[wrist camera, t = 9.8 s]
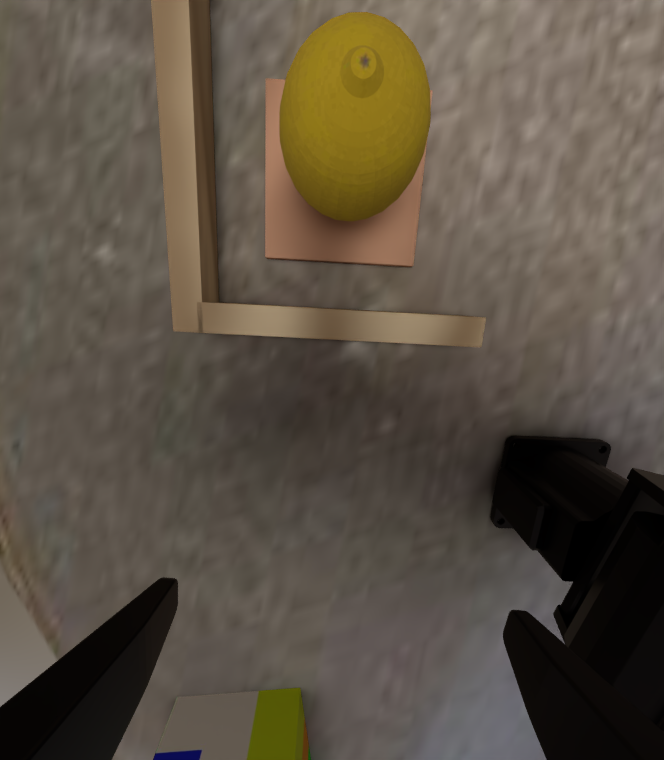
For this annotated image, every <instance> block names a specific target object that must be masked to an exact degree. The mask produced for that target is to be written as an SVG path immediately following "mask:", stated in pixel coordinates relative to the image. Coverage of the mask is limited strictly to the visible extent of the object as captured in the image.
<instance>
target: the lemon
mask: <svg viewBox="0 0 664 760" xmlns="http://www.w3.org/2000/svg"><path fill="white" fill-rule="evenodd" d="M430 116H431V112H430V88H429V83H428V79H427V75H426V70H425V66H424V63H423V61H422V59H421V57H420V55H419V53H418V51H417V49H416V47H415V45H414V44H413V42H412V41H411V40H410V39H409V38H408V36H407V35H406V34H405V33H404V32H403V31H402V29H401V28H400V27H398V26H397V25H395V24H394V23H392V22H391V21H389V20H388V19H386V18H385V17H381V16H378V15H375V14H372V13H368V12H353V13H347V14H344V15H341V16H338V17H335V18H332V19H330V20H329V21H328V22H326V23H325V24H323V25H322V26H321V27H319V28H318V29H316V30H315V31H314V32H312V34H311V35H310V36H309V37H308V39H307V40H306V41H305V42H304V44H303V45H302V46H301V47H300V49H299V50H298V52H297V54H296V56H295V58H294V61H293V63H292V65H291V67H290V69H289V71H288V73H287V77H286V80H285V85H284V89H283V94H282V98H281V103H280V112H279V136H280V144H281V149H282V153H283V158H284V162H285V166H286V169H287V171H288V173H289V175H290V178H291V180H292V182H293V184H294V186H295V188H296V189H297V191H298V192H299V193H300V194H301V196H302V197H303V198H304V199H305V201H306V202H307V203H308V204H309V205H310V206H312V207H313V208H314V209H316V210H317V211H318V212H320V213H321V214H323V215H325V216H328V217H330V218H333V219H335V220H342V221H357V220H363V219H367V218H370V217H372V216H374V215H376V214H378V213H381V212H383V211H384V210H385V209H386V208H387V207H389V206H390V205H391V204H392V203H394V202H395V201H396V200H397V199H398V198H399V197H400V196H401V194H402V193H403V192H404V190H405V189H406V188H407V186H408V185H409V184H410V182H411V181H412V179H413V177H414V175H415V173H416V171H417V168H418V166H419V164H420V162H421V159H422V157H423V154H424V151H425V146H426V142H427V137H428V132H429V127H430Z"/></svg>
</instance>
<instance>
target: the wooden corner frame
mask: <svg viewBox="0 0 664 760" xmlns="http://www.w3.org/2000/svg"><path fill="white" fill-rule="evenodd" d="M151 4H152V19H153V34H154V49H155V64H156V79H157V94H158V109H159V124H160V139H161V154H162V169H163V184H164V199H165V214H166V229H167V244H168V259H169V274H170V289H171V304H172V319H173V331H179V332H198V333H217V334H236V335H256V336H275V337H294V338H313V339H332V340H351V341H370V342H389V343H408V344H427V345H446V346H465V347H481V346H482V340H483V334H484V328H485V322H486V318H483V317H472V316H459V315H441V314H423V313H404V312H386V311H368V310H350V309H331V308H313V307H295V306H277V305H258V304H240V303H222V302H219V285H218V254H217V222H216V190H215V158H214V126H213V95H212V63H211V31H210V0H151ZM284 85H285V80H280V79H266V204H265V257H266V258H267V259H280V260H297V261H315V262H332V263H349V264H366V265H383V266H400V267H412V266H413V264H414V255H415V246H416V236H417V227H418V218H419V209H420V200H421V191H422V181H423V172H424V163H425V154H426V146H425V151H424V154H423V157H422V159H421V162H420V164H419V166H418V168H417V171H416V173H415V175H414V177H413V179H412V181H411V182H410V184H409V185H408V186H407V188H406V189H405V190H404V192H403V193H402V194H401V196H400V197H399V198H398V199H397V200H396V201H395V202H394V203H392V204H391V205H390V206H389V207H387V208H386V209H385V210H384V211H383V212H381V213H378V214H376V215H374V216H372V217H370V218H367V219H363V220H357V221H342V220H335V219H333V218H330V217H328V216H325V215H323V214H321V213H320V212H318V211H317V210H316V209H314V208H313V207H312V206H310V205H309V204H308V203H307V202H306V201H305V199H304V198H303V197H302V196H301V194H300V193H299V192H298V191H297V189H296V188H295V186H294V184H293V182H292V180H291V178H290V175H289V173H288V171H287V169H286V166H285V162H284V158H283V153H282V149H281V144H280V136H279V112H280V103H281V98H282V94H283V89H284ZM431 99H432V90H430V108H431ZM426 145H427V142H426Z"/></svg>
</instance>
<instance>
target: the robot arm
mask: <svg viewBox="0 0 664 760" xmlns="http://www.w3.org/2000/svg"><path fill="white" fill-rule="evenodd" d="M516 442H517V445H516V446H514V447H513V445H514V443H516ZM600 447H601V449H600V450H599V448H600ZM610 450H611V446H610V444H608V443H607V442H605V441H603V440H596V439H574V438H552V437H530V436H511V437H509V438H508V439H507V441H506V444H505V449H504V454H503V459H502V464H501V468H500V469H499V472H498V477H497V482H496V487H495V492H494V497H493V508H492V513H491V521H492V523H493V524H494V525H495V526H496V527H498V528H514V529H515V531H516V532H517V533H518V534H519V535H520V537H521V538H522V539H523V540H524V542H525V543H526V544H527V545H528V546H529V547H530V549H532V550H537V551H538V552H539V553H540V554H541V555H542V557H543V558H544V559H545V560H546V561H547V562H548V564H549V565H550V566H551V567H552V568H553V570H554V571H555V572H556V573H557V574H558V576H559V577H560V578H561V579H562V580H563V581H573V583H572V585H571V587H570V589H569V591H568V593H567V594H566V596H565V598H564V600H563V602H562V604H561V605H558V606H557V607H556V609H555V611H554V613H553V615H554V618H555V620H556V623H557V625H558V628H559V630H560V633H561V635H562V637H563V640H564V642H565V644H564V643H563V642H562V641H560V640H559V639H558V638H557V637H556V636H555V635H554V634H552V633H551V632H550V631H549V630H548V629H547V628H546V627H545V626H543V625H542V624H541V623H540V622H539V621H538V620H537V619H535V618H534V617H533V616H532V615H531V614H530V613H528V612H526V611H521V610H511V611H510V612H509V615H508V618H507V621H506V625H505V628H504V631H503V640H504V644H505V647H506V650H507V653H508V656H509V659H510V662H511V665H512V668H513V671H514V674H515V677H516V680H517V683H518V686H519V689H520V692H521V695H522V698H523V701H524V704H525V707H526V709H527V712H528V715H529V718H530V720H531V723H532V725H533V728H534V730H535V733H536V735H537V737H538V740H539V742H540V745H541V747H542V749H543V752H544V754H545V757H546V759H547V760H664V475H660V474H656V473H652V472H648V471H644V470H640V469H636V468H632V469H631V471H630V473H629V475H628V477H627V479H628V480H629V481H628V480H626V479H624V478H623V477H621V476H619V475H618V474H616V473H614V472H613V471H611V470H609V469H608V468H606V464H607V461H608V457H609V454H610ZM500 518H501V520H499V521H498V519H500ZM177 606H178V581H177V579H175V578H165V577H163V578H160V579H158V580H157V581H156V582H155V583H153V584H152V585H151V586H150V587H148V588H147V589H146V590H145V591H143V592H142V593H141V594H140V595H139V596H137V597H136V598H135V599H134V600H132V601H131V602H130V603H129V604H127V605H126V606H125V607H124V608H122V609H121V610H120V611H119V612H117V613H116V614H115V615H114V616H112V617H111V618H110V619H109V620H108V621H106V622H105V623H104V624H103V625H101V626H100V627H99V628H98V629H96V630H95V631H94V632H93V633H91V634H90V635H89V636H88V637H86V638H85V639H84V640H83V641H81V642H80V643H79V644H78V645H76V646H75V647H74V648H73V649H72V650H70V651H69V652H68V653H67V654H65V655H64V656H63V657H62V658H60V659H59V660H58V661H57V662H55V663H54V664H53V665H52V666H50V667H49V668H48V669H47V670H46V671H44V672H43V673H42V674H41V675H39V676H38V677H37V678H36V679H35V680H33V681H32V682H31V683H29V684H28V685H27V686H26V687H24V688H23V689H22V690H21V691H19V692H18V693H17V694H16V695H14V696H13V697H12V698H11V699H10V700H8V701H7V702H6V703H5V704H3V705H2V706H1V707H0V760H112V758H113V756H114V754H115V752H116V750H117V747H118V745H119V743H120V741H121V739H122V737H123V735H124V733H125V731H126V729H127V727H128V725H129V723H130V721H131V719H132V717H133V715H134V713H135V711H136V708H137V706H138V704H139V702H140V700H141V698H142V696H143V694H144V692H145V689H146V687H147V685H148V683H149V680H150V678H151V675H152V673H153V670H154V668H155V665H156V662H157V660H158V657H159V655H160V652H161V650H162V647H163V644H164V642H165V639H166V637H167V634H168V632H169V629H170V626H171V624H172V621H173V619H174V616H175V613H176V610H177Z"/></svg>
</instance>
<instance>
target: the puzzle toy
mask: <svg viewBox="0 0 664 760" xmlns="http://www.w3.org/2000/svg"><path fill="white" fill-rule="evenodd" d="M153 760H311V757H310V750H309V743H308V737H307V730H306V723H305V717H304V710H303V703H302V696H301V690H300V688H289V689H276V690H263V691H250V692H237V693H224V694H211V695H198V696H185V697H177V698H176V701H175V704H174V706H173V709H172V711H171V714H170V717H169V719H168V722H167V724H166V727H165V730H164V732H163V735H162V737H161V740H160V743H159V745H158V748H157V751H156V753H155V756H154V758H153Z"/></svg>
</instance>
